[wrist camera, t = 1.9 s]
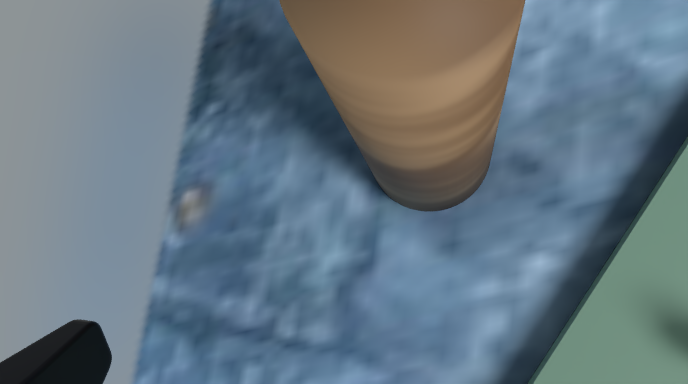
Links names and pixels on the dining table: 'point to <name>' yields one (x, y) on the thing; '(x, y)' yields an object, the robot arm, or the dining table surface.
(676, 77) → the dining table surface
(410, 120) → the walnut cylinder
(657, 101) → the dining table surface
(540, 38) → the dining table surface
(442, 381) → the dining table surface
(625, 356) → the standoff plate
